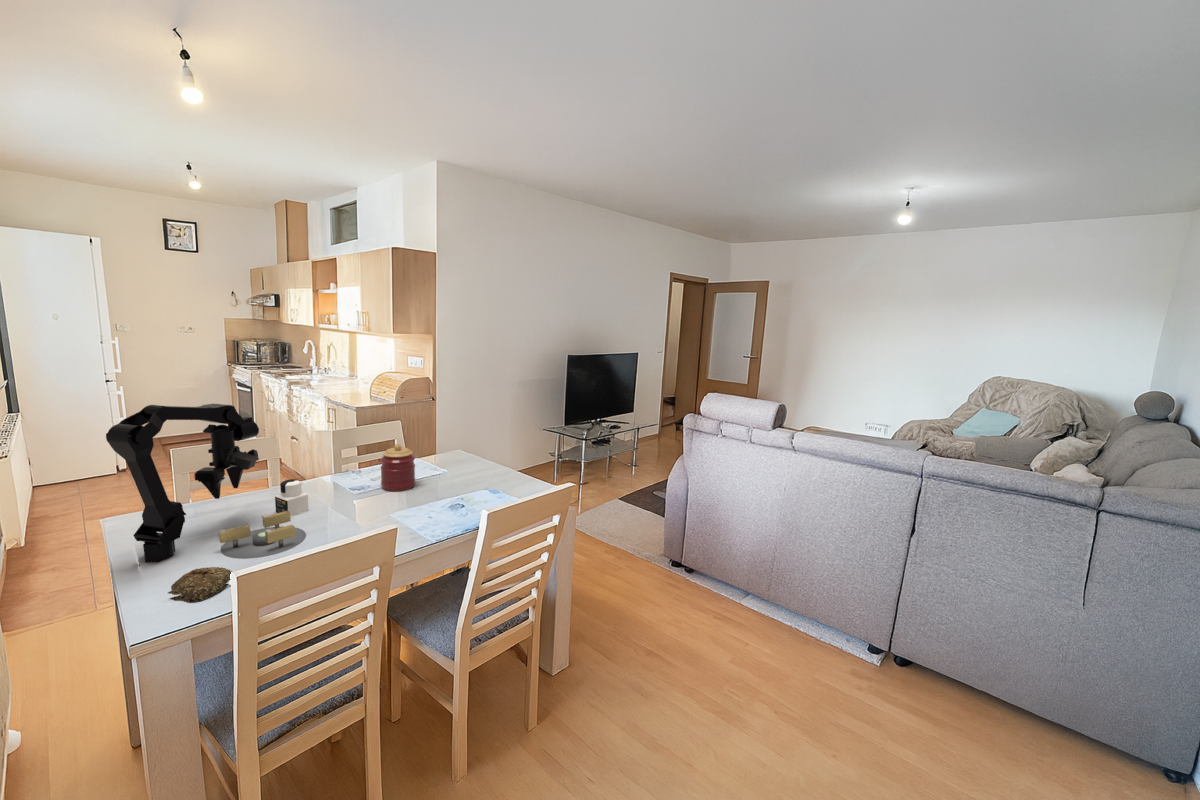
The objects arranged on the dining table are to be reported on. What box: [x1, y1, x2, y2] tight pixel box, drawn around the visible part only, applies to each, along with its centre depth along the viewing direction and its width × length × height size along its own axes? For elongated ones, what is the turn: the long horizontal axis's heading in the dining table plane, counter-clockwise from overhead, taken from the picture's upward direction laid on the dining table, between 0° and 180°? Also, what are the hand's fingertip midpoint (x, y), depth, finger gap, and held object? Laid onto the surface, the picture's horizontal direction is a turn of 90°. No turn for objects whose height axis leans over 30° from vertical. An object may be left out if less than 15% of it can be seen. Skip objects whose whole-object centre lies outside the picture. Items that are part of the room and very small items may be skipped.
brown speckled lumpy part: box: [167, 566, 233, 604], centre depth 122 cm, size 13×12×5 cm
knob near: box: [265, 524, 296, 548], centre depth 142 cm, size 2×7×6 cm, turn 141°
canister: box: [380, 443, 416, 492], centre depth 198 cm, size 13×13×18 cm
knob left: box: [217, 524, 251, 548], centre depth 141 cm, size 2×7×6 cm, turn 137°
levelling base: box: [220, 525, 307, 560], centre depth 145 cm, size 21×21×4 cm
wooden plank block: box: [261, 511, 292, 529], centre depth 152 cm, size 2×7×6 cm, turn 142°
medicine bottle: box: [274, 478, 309, 517], centre depth 167 cm, size 7×7×12 cm
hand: (226, 493), depth 152 cm, fingers open, 9 cm apart
